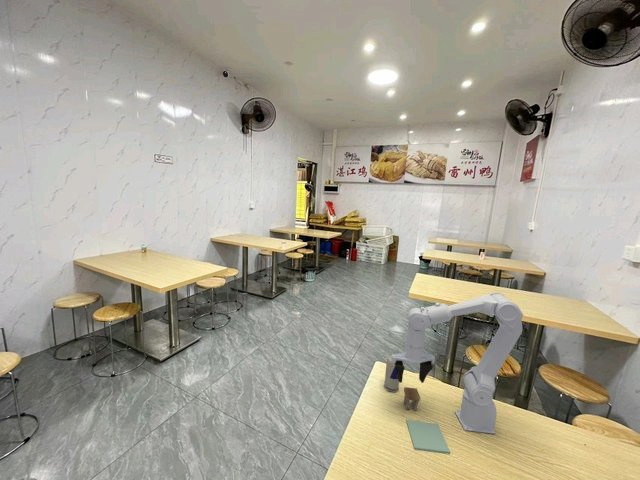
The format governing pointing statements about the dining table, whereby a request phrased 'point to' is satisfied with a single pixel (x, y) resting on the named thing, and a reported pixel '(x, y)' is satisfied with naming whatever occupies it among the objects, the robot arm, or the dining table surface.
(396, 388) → the energy drink
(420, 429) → the board
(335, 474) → the dining table surface
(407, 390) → the brown block with pegs
